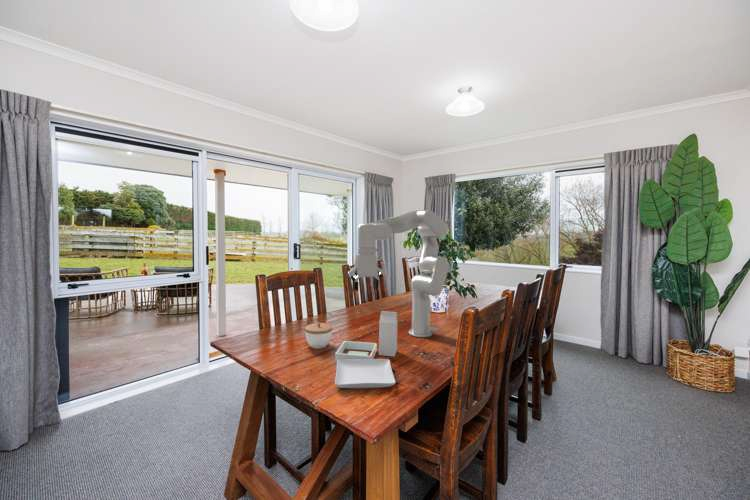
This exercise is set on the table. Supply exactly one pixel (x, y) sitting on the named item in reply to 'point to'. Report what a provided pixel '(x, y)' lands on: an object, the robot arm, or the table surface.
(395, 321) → the milk carton
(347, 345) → the square tray
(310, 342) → the lidded bowl
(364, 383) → the salad plate
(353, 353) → the pad
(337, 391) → the table surface
